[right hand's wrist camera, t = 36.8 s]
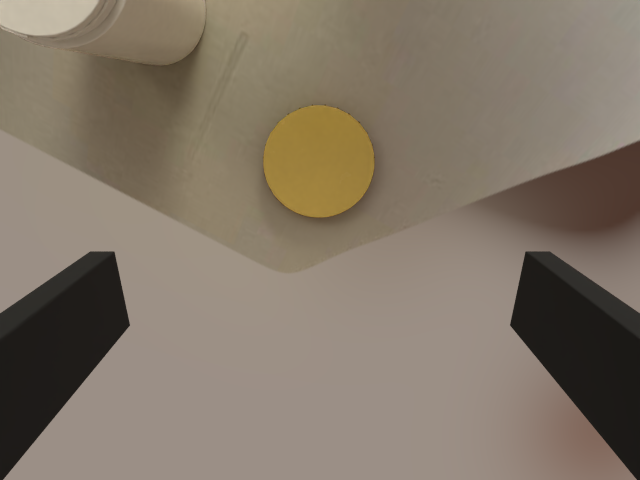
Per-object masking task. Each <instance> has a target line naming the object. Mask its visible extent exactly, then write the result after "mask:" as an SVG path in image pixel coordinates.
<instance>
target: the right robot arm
mask: <svg viewBox="0 0 640 480" xmlns="http://www.w3.org/2000/svg"><path fill="white" fill-rule="evenodd" d="M129 326H130V324H129V319H128V314H127V310H126V305H125V300H124V295H123V290H122V286H121V281H120V276H119V271H118V267H117V262H116V257H115V253H114V252H89V253H88V254H86V255H85V256H83V257H82V258H80V259H79V260H77V261H76V262H75V263H73V264H72V265H70V266H69V267H67V268H66V269H64V270H63V271H61V272H60V273H58V274H57V275H56V276H54V277H53V278H51V279H50V280H48V281H47V282H45V283H44V284H43V285H41V286H40V287H38V288H37V289H35V290H34V291H32V292H31V293H29V294H28V295H26V296H25V297H24V298H22V299H21V300H19V301H18V302H16V303H15V304H13V305H12V306H10V307H9V308H7V309H6V310H5V311H3V312H2V313H0V480H3V479H4V478H5V477H6V475H7V474H8V473H9V472H10V471H11V469H12V468H13V467H14V466H15V464H16V463H17V462H18V461H19V460H20V458H21V457H22V456H23V455H24V453H25V452H26V451H27V450H28V449H29V447H30V446H31V445H32V444H33V443H34V441H35V440H36V439H37V438H38V436H39V435H40V434H41V433H42V432H43V430H44V429H45V428H46V427H47V426H48V424H49V423H50V422H51V421H52V419H53V418H54V417H55V416H56V415H57V413H58V412H59V411H60V410H61V408H62V407H63V406H64V405H65V404H66V402H67V401H68V400H69V399H70V398H71V396H72V395H73V394H74V393H75V391H76V390H77V389H78V388H79V387H80V385H81V384H82V383H83V382H84V380H85V379H86V378H87V377H88V376H89V374H90V373H91V372H92V371H93V369H94V368H95V367H96V366H97V365H98V363H99V362H100V361H101V360H102V359H103V357H104V356H105V355H106V354H107V353H108V351H109V350H110V349H111V348H112V346H113V345H114V344H115V343H116V342H117V340H118V339H119V338H120V337H121V335H122V334H123V333H124V332H125V331H126V329H127V328H128V327H129ZM510 326H511V327H512V328H513V329H514V331H515V332H516V333H517V334H518V335H519V337H520V338H521V339H522V340H523V342H524V343H525V344H526V345H527V346H528V348H529V349H530V350H531V351H532V353H533V354H534V355H535V356H536V357H537V359H538V360H539V361H540V362H541V363H542V365H543V366H544V367H545V368H546V370H547V371H548V372H549V373H550V374H551V376H552V377H553V378H554V379H555V380H556V382H557V383H558V384H559V385H560V387H561V388H562V389H563V390H564V391H565V393H566V394H567V395H568V396H569V398H570V399H571V400H572V401H573V402H574V404H575V405H576V406H577V407H578V408H579V410H580V411H581V412H582V413H583V415H584V416H585V417H586V418H587V419H588V421H589V422H590V423H591V424H592V425H593V427H594V428H595V429H596V430H597V432H598V433H599V434H600V435H601V436H602V438H603V439H604V440H605V441H606V443H607V444H608V445H609V446H610V447H611V449H612V450H613V451H614V452H615V454H616V455H617V456H618V457H619V458H620V460H621V461H622V462H623V463H624V464H625V466H626V467H627V468H628V469H629V471H630V472H631V473H632V474H633V475H634V477H635V478H636V479H637V480H640V313H638V312H637V311H635V310H634V309H632V308H631V307H630V306H628V305H627V304H625V303H624V302H622V301H621V300H619V299H618V298H616V297H615V296H614V295H612V294H611V293H609V292H608V291H606V290H605V289H603V288H602V287H600V286H599V285H597V284H596V283H595V282H593V281H592V280H590V279H589V278H587V277H586V276H584V275H583V274H582V273H580V272H579V271H577V270H576V269H574V268H573V267H571V266H570V265H568V264H567V263H565V262H564V261H563V260H561V259H560V258H558V257H557V256H555V255H554V254H552V253H551V252H525V257H524V262H523V267H522V271H521V276H520V281H519V286H518V290H517V295H516V300H515V305H514V310H513V314H512V319H511V324H510Z"/></svg>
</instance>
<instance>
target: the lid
mask: <svg viewBox="0 0 640 480" xmlns="http://www.w3.org/2000/svg"><path fill="white" fill-rule="evenodd" d="M367 134H368V133H367V132H366V131H365V130H364V128H363V127H362V126H361V125H360V122H358V121H356V120H355V119H354V118H353V117H352V116H350V114H349V113H348V114H347V113H346V112H344V111H342V110H340V109H339V108H334V107H330V106H326V105H325V106H324V105H314V106H313V105H312V106H308V107H304V108H299V109H298V110H296V111H294V112H292V113H291V114H287V116H286V117H285V118H284V119H282V120H281V121H279V122H278V124H277V125H276V127H275V128H274V129H273V131H272V132H271V133H270V136H269V138H268V140H267V143H266V144H265V150H264V157H263V167H264V173H265V177H266V180H267V183H268V185H269V187H270V189H271V191H272V192H273V194H274V195H275V196H276V198H277V199H278V200H279V201H280V202H281V203H282V204H283V205H284V206H286V207H287V208H289V209H290V210H292V211H294V212H296V213H298V214H301V215H304V216H308V217H317V218H322V217H330V216H334V215H337V214H340V213H342V212H344V211H346V210H348V209H349V208H351V207H352V206H353V205H355V204H356V203H357V202H358V201H359V200H360V199H361V198H362V196H363V195H364V194H365V192H366V191H367V189H368V187H369V185H370V182H371V180H372V177H373V172H374V163H375V162H374V158H375V157H374V152H373V147H372V146H373V145H372V144H371V141H370V139H369V137H368V135H367Z"/></svg>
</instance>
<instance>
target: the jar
mask: <svg viewBox="0 0 640 480" xmlns="http://www.w3.org/2000/svg"><path fill="white" fill-rule="evenodd" d="M205 20H206V5H205V0H0V28H2V29H3V30H6V31H8V32H11V33H13V34H15V35H17V36H19V37H20V38H22V39H24V40H27V41H29V42H31V43H34V44H37V45H41V46H44V47H50V48H56V49H61V50H67V51H73V52H79V53H85V54H91V55H96V56H102V57H108V58H114V59H120V60H125V61H131V62H137V63H143V64H149V65H160V66H162V65H169V64H172V63H176V62H178V61H180V60H182V59H183V58H185V57H186V56H187V55H188V54H190V53H191V52H192V50H193V49H194V48H195V47H196V45H197V44H198V42H199V40H200V38H201V36H202V33H203V30H204V26H205Z"/></svg>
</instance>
